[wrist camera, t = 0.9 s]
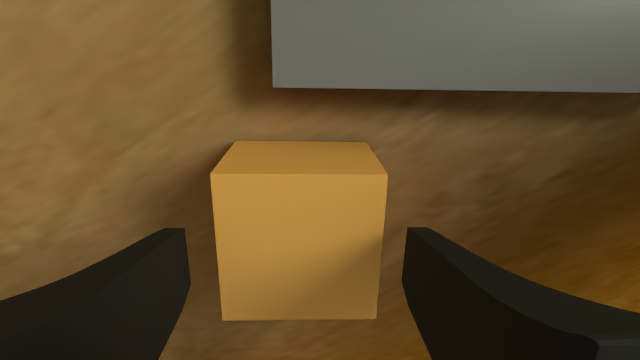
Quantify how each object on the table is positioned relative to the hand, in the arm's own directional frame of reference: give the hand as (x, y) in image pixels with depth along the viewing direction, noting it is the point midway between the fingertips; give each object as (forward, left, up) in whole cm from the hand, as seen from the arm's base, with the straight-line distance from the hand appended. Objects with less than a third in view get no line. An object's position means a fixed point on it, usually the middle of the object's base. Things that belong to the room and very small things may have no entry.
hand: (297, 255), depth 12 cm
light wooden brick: (0, 0, -5) cm, 5 cm away
